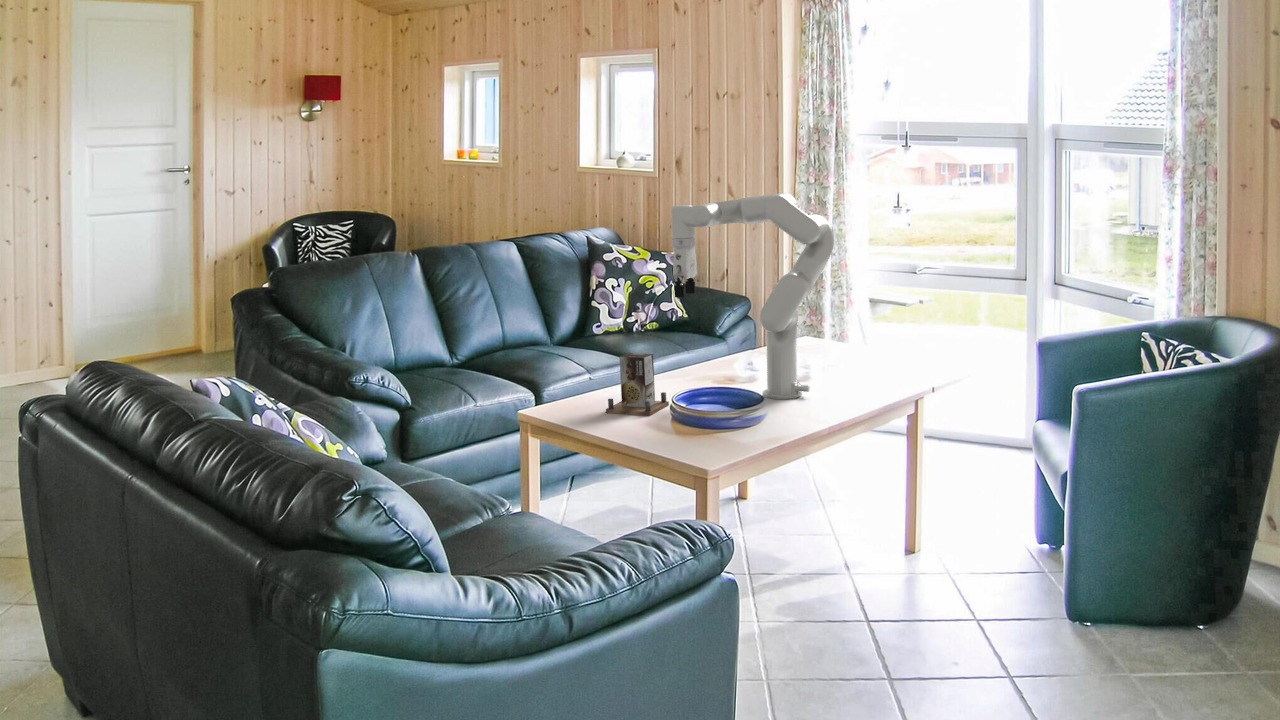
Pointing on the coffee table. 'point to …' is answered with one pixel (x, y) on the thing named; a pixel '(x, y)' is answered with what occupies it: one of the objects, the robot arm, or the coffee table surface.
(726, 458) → the coffee table surface
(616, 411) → the stub cradle
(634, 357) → the coffee box
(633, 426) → the coffee table surface
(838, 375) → the coffee table surface
